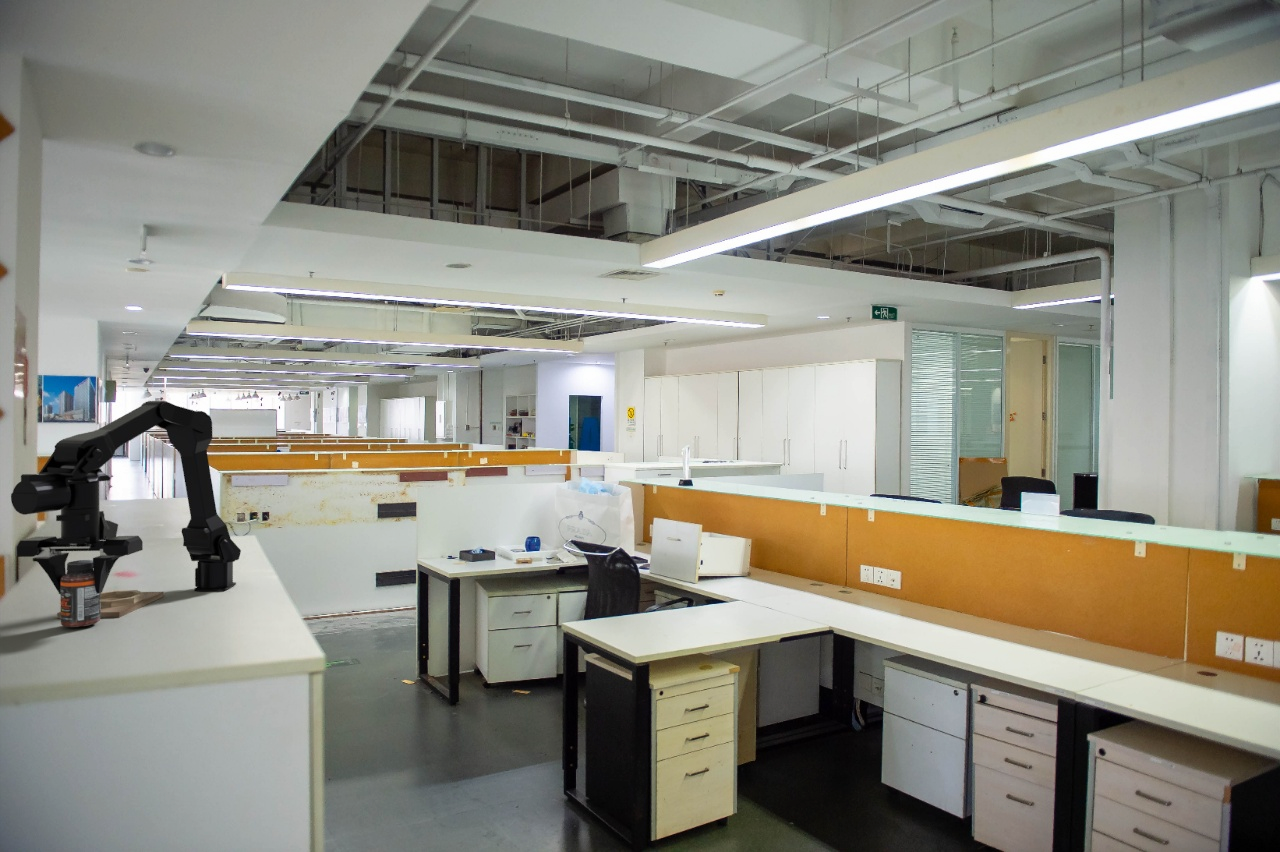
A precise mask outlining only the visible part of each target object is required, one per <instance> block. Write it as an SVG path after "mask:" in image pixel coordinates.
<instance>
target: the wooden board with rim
mask: <svg viewBox="0 0 1280 852" xmlns="http://www.w3.org/2000/svg"><path fill="white" fill-rule="evenodd" d="M164 596H165V591H140V590H137V589H131V590H128V589H126V590H125V589H124V590H123V589H120V590H117V589H116V590H110V591H104V592H103V591H102V592H101V600H100V601H101V609H100V610H101V611H100V612H101V615H100V619H101V618H120V617H123V616H125V615H127V614H129V613H132V612H133V611H135V610H138V609H140V608H142V607H144V606H146V605H148V604H150V603H152V602H155V601H157V600H160V599H161V598H163V597H164ZM56 618H57V619H61V611H59V612H57V613H56Z"/></svg>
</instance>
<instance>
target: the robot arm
mask: <svg viewBox="0 0 1280 852" xmlns="http://www.w3.org/2000/svg"><path fill="white" fill-rule="evenodd" d="M154 427H157V428H158V429H159V428H160V429H163V430H164V431H166V433H167V436H168V440H169V442H170V443H171V445H172V446H173V447H174V449H176V451H177V453H178V454H179V455H180V461H181V466H182V473H183V478H184V485H185V490H186V496H187V497H186V498H187V502H188V503H187V504H188V507H189V514H190V520H189V521H188V524H187V526H186V527H182V528H181V535H182V538H183V543H182V546H183V547H186V551H187V552H188V554H189V557H190V560H191V561H192V562H197V567H195V568H194V586H195V587H194V588H193V591H194V592H210V591H211V592H213V591H214V592H215V591H217V592H218V591H219V592H220V591H221V592H222V591H227V590H229V589H230V588H232V587H234V586H236V585H237V582H236V581H235V582H234V580H233V579H234V568H233V567H234V562H235V561H239V559H240V555H241V554H242V553H241V551H242V550H241V549H240V548H239V546H238V545H237V544H236V543H235V542H234V541H233V540H232V539H231V535H230V533H229V529H228V526H227V524H226V523H225V521H224V520H223V519H222V518H221V517H220V516H219V514H218V512H217V507H216V500H215V494H214V489H213V488H214V487H213V483H212V482H213V481H212V475H211V470H210V463H209V457H208V448H209V446H210V444H211V442H212V439H213V421H212V418H211V415H210V414H208V413H206V412H205V411H202V410H193V409H189V408H185V407H182V406H179V405H175V404H173V403H171V402H168V401H165V400H148V401H145V402H143V403H142V404H141V405H140V406H139V407H136V408H135V409H133V410H131V411H129V412H128V413H126V414H124V415H122V416H121V417H119V418H117V419H115V420H114V421H111V422H110V423H107V424H105V425H104V426H102V427H100V428H98V429H95V430H93V431H87V432H84V433H80V434H79V433H78V434H75V435H72V436H69V437H66V438H62V439H61V440H59V441H58V442H56V444H55V445H54V451H53V452H52V454H51V455H50V457H49V458H48V459H47V461H46V462H45V464H44V465H43V467H42V468H41V470H40V471H39V472H38V473H37V474H36V473H25V474H23V473H22V474H21V475H20V481H19V482H18V483H17V484H16V485H15V486H14V487H13V490H12V493H11V494H10V499H11V505H12V507H13V508H14V510H15V511H16V512H17V513H19V514H20V515H23V516H24V515H33V514H39V513H41V514H42V513H49V512H55V511H56V512H57V511H60V514H57V515H56V517H55V520H56V522H60V537H57V536H33V537H30V538H25V539H22V540H21V539H20V540H19V541H18V543H17V544H16V546H15V557H17V558H25V557H26V558H28V557H29V558H31V557H33V558H32V559H31V560H32V561H33V562H37V563H38V564H39V565H40V567H41V568H42V570H43V571H44V572H45V573H46V574H47V577H49V579H50V582H51V583H52V585H54V587H55V589H56V591H57V592H58V594H59V595H60V593H61V590H60V584H61V578H62V576H64V575H65V574H66V573H67V569H66V562H67V560H68V557H69V555H70V552H99V555H98V556H95V557H92V561H93V570H94V580H95V589H96V593H97V594H99V593H103V591H104V588H105V586H106V583H107V581H108V578H109V576H110V573H111V571H112V570H113V569H112V568H113V567H114V565H115V563H117V561H118V560H119V559H120V558H122V557H124V556H128V555H131V554H135V553H138V552H140V551H143V550H144V549H143V539H142V538H141V537H140V536H139V535H118V536H117V534H118V529H119V524H118V523H116V522H114V521H111V520H106V518H105V513H104V511H103V510H100V482H106V481H107V482H108V481H111V477H110V476H109V475H108V474H106V472H104V471H102V467H103V466H104V465H106V464H107V463H108V462H109V461H110V460H111V459H112V458H113V457H114V455H115V453H116V451H118V449H119V448H120V447H122V446H123V445H125V444H127V443H129V442H131V441H132V440H134V439H136V438H137V437H138V436H140V435H142V434H144V433H145V432H147V431H150V429H152V428H154Z"/></svg>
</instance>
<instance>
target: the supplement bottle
mask: <svg viewBox="0 0 1280 852" xmlns="http://www.w3.org/2000/svg"><path fill="white" fill-rule="evenodd" d="M60 590H61V593H60V594H59V595H60V612H61V618H60V625H61V626H63V627H65V628H80V627H87V626H91V625H95V624H97V623H98V622H99V621H100V620H101V618H100V615H101V612H100V611H101V610H100V609H101V601H100V600H101V593H102V592H101V593H99V594H97V593H96V589H95V580H94V568H93V559H92V560H90V559H82V560H81V559H80V560H73V561H69V562H67V564H66V574H65V575H64V576H62V578H61V584H60Z"/></svg>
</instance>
